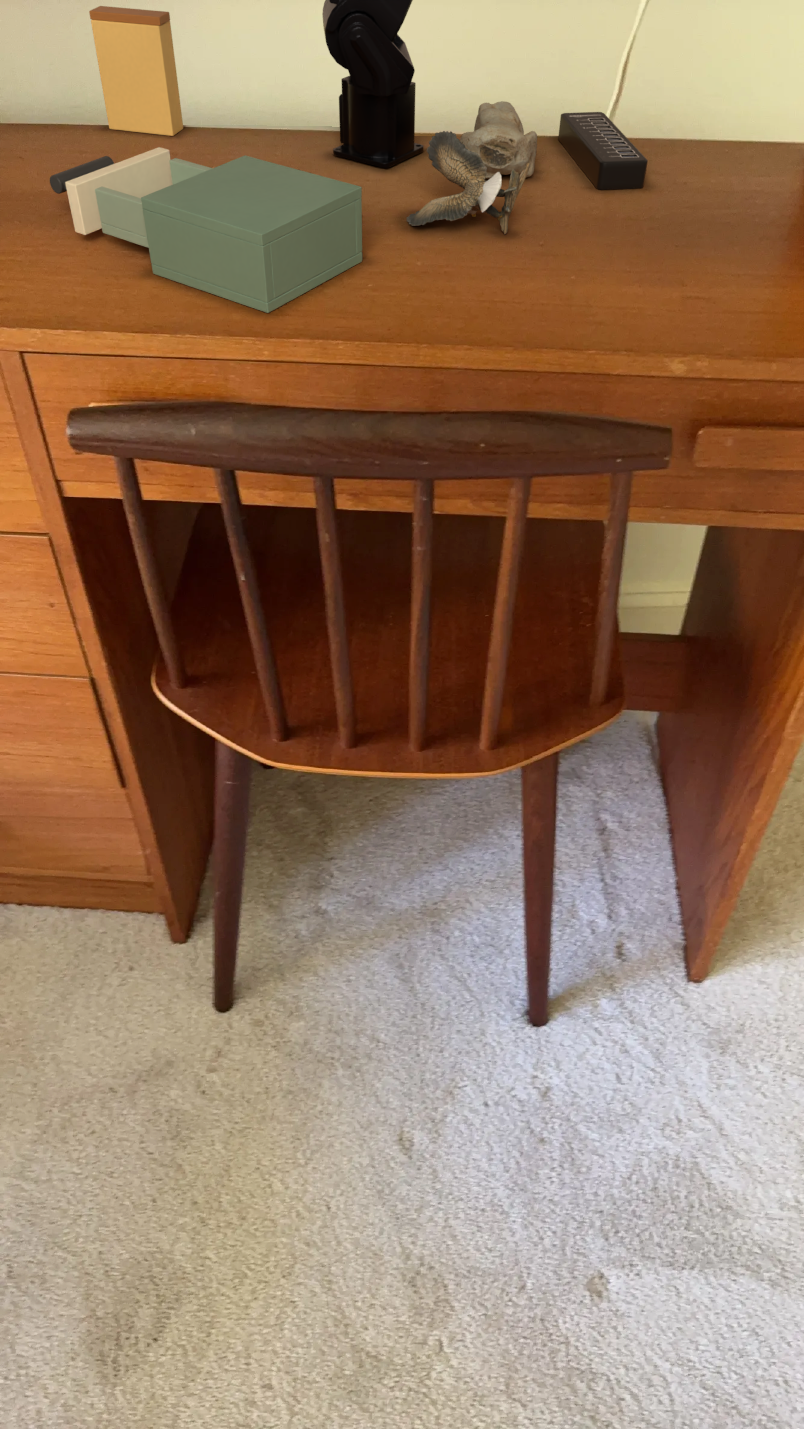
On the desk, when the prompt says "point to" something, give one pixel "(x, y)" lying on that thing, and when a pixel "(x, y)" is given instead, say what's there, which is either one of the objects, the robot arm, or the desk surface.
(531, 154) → the sculpture
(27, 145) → the desk surface
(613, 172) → the multiport hub
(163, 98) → the tan flat block
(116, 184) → the drawer
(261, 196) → the cabinet
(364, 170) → the desk surface
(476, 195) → the eagle figurine
